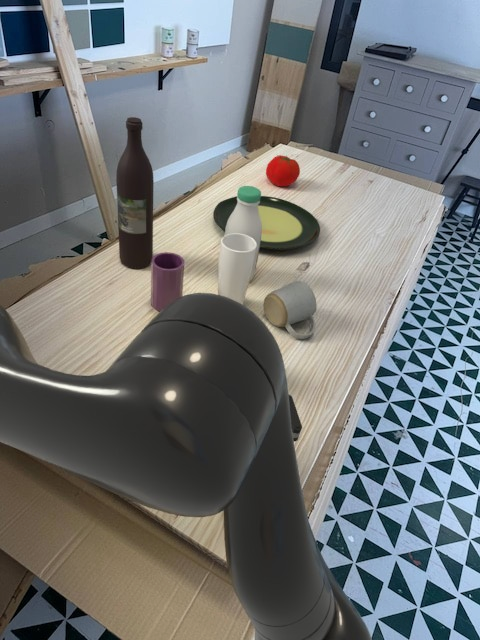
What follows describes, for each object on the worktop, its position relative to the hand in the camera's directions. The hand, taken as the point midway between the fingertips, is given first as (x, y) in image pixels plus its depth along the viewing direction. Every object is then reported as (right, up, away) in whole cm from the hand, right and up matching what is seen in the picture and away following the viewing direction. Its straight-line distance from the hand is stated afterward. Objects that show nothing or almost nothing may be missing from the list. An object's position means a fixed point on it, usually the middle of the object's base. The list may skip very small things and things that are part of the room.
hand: (232, 379), depth 66 cm
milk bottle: (0, +18, +38) cm, 42 cm away
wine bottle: (-22, +21, +37) cm, 48 cm away
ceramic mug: (+11, +8, +27) cm, 31 cm away
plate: (+8, +32, +56) cm, 65 cm away
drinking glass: (-1, +11, +29) cm, 31 cm away
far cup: (-14, +12, +27) cm, 32 cm away
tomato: (+14, +50, +78) cm, 94 cm away
